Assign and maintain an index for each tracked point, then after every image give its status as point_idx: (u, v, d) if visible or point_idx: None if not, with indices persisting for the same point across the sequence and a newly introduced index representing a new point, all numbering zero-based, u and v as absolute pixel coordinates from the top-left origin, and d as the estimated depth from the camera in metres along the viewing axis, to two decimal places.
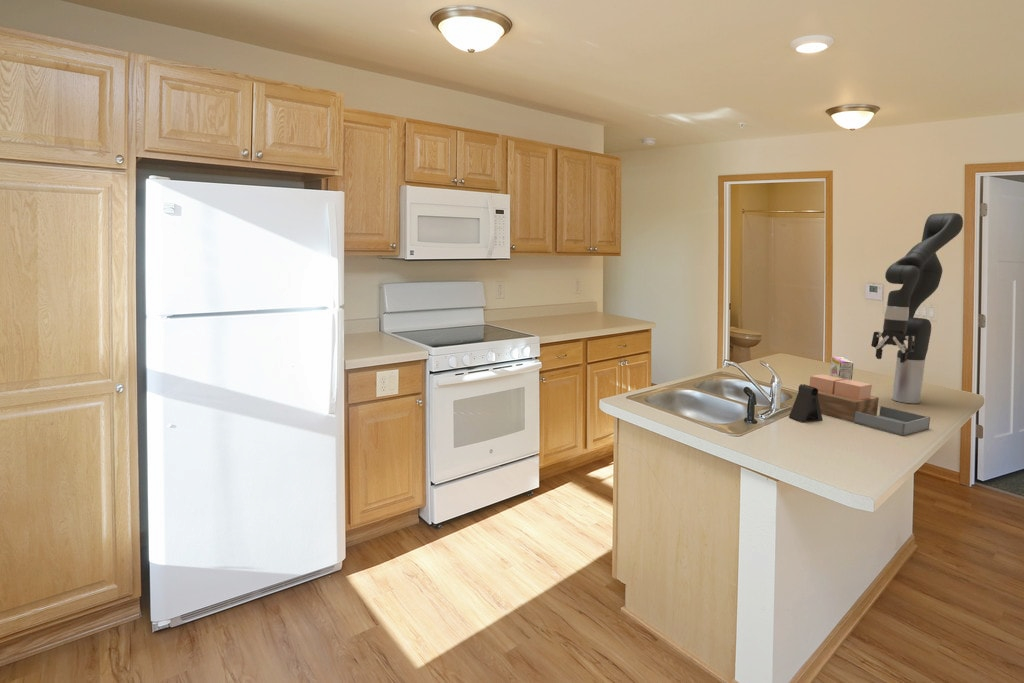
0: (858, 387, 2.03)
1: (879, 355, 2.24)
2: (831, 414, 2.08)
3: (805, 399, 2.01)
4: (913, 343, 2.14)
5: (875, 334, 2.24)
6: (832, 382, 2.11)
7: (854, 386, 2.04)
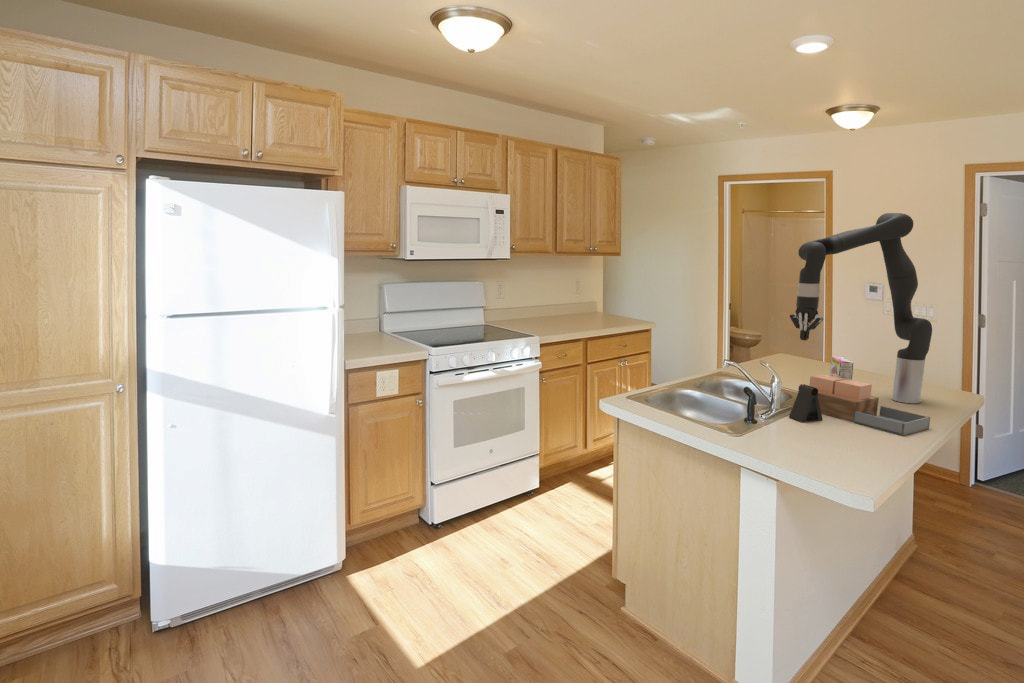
0: (858, 387, 2.03)
1: None
2: (831, 414, 2.08)
3: (805, 399, 2.01)
4: (817, 324, 2.18)
5: (791, 316, 2.26)
6: (832, 382, 2.11)
7: (854, 386, 2.04)
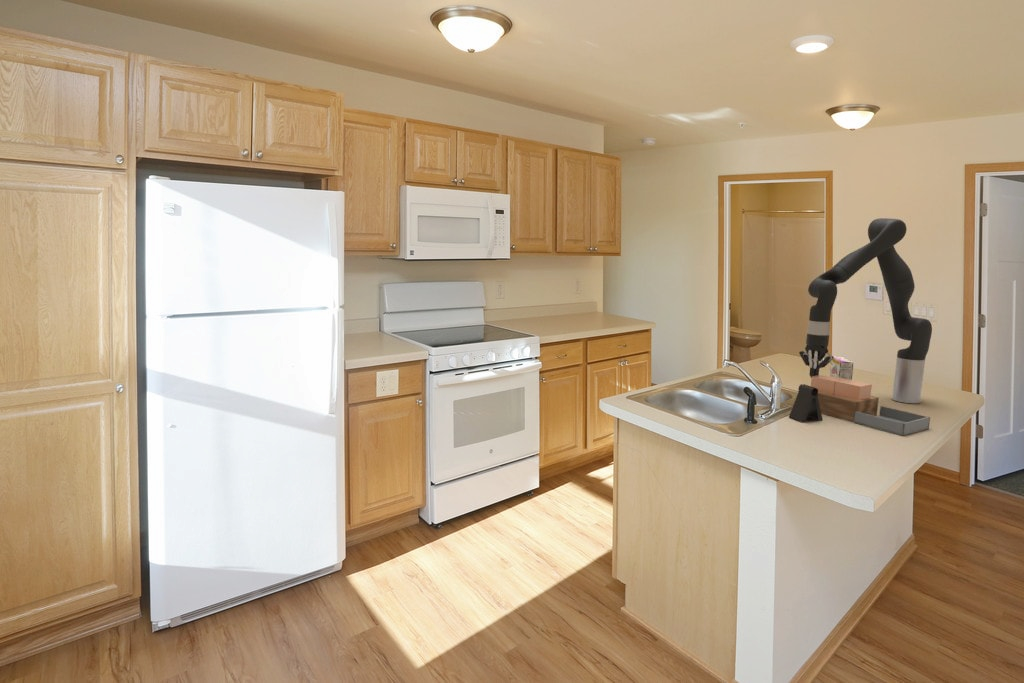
0: (858, 387, 2.03)
1: None
2: (831, 414, 2.08)
3: (805, 399, 2.01)
4: (827, 362, 2.16)
5: (801, 353, 2.23)
6: (833, 382, 2.10)
7: (854, 386, 2.04)
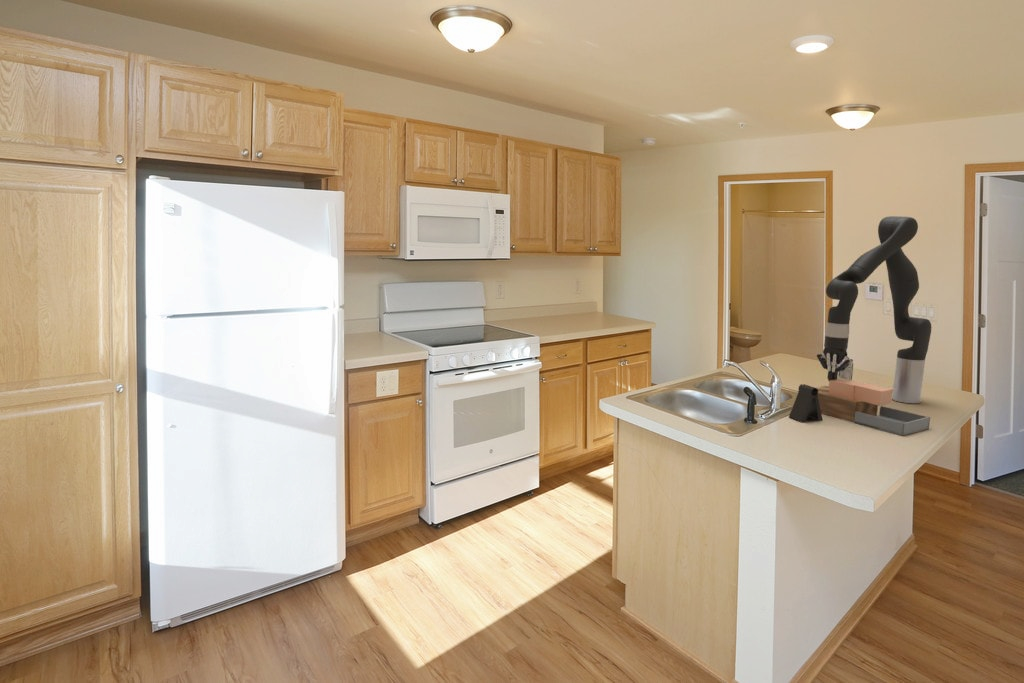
0: (879, 392, 1.96)
1: None
2: (831, 414, 2.08)
3: (805, 399, 2.01)
4: (846, 366, 2.09)
5: (819, 356, 2.17)
6: (853, 387, 2.04)
7: (875, 391, 1.98)
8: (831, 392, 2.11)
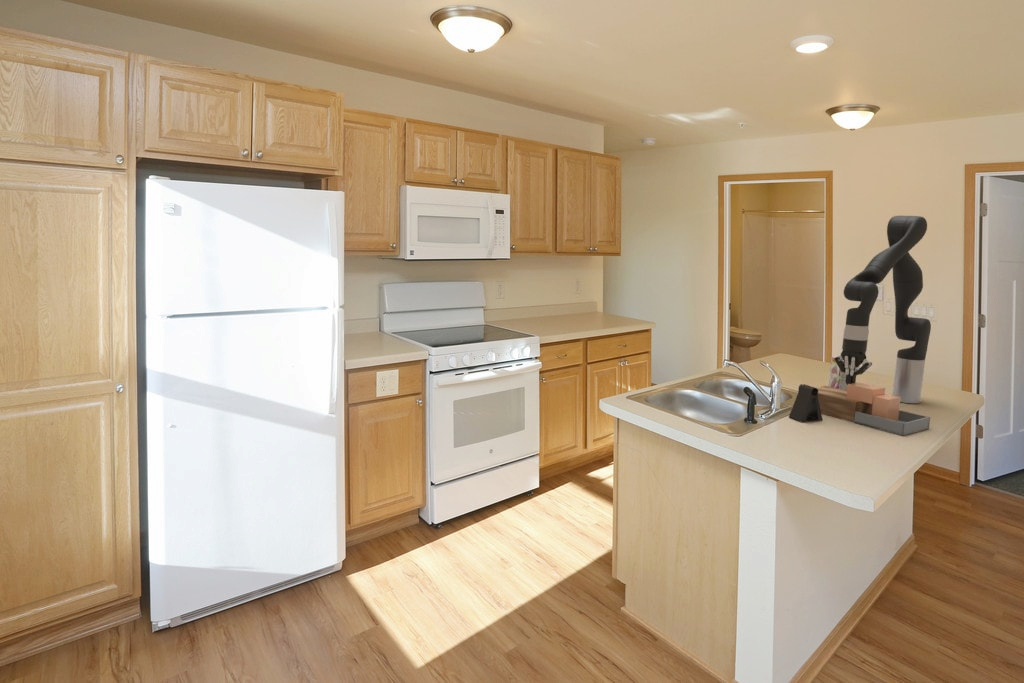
0: None
1: None
2: (831, 414, 2.08)
3: (805, 399, 2.01)
4: (865, 369, 2.03)
5: (836, 359, 2.11)
6: (872, 391, 1.98)
7: None
8: (849, 396, 2.05)
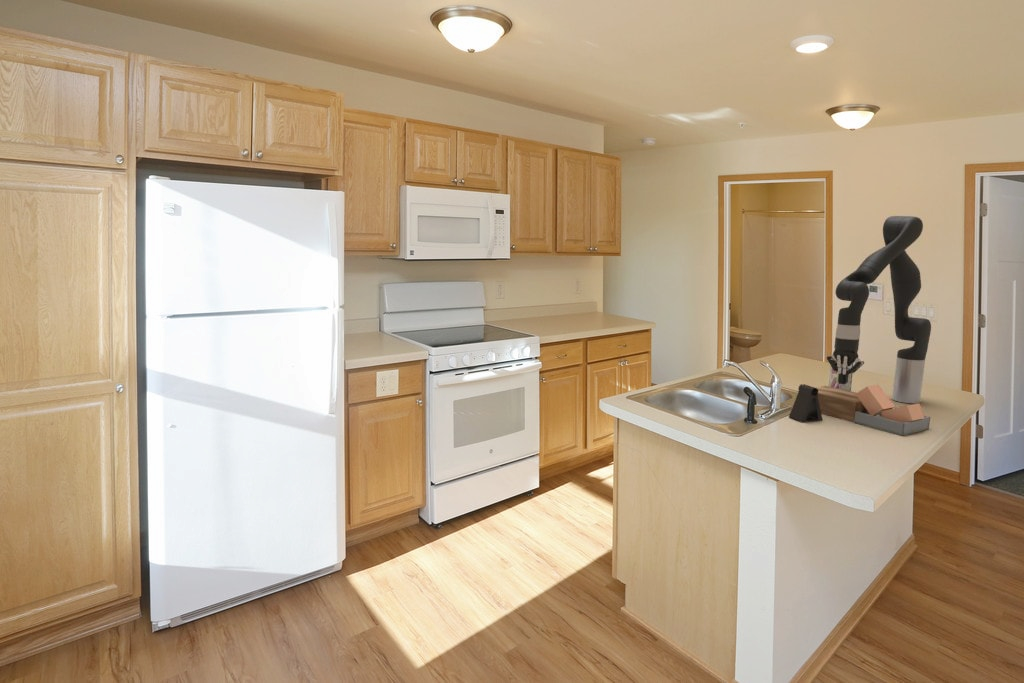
0: None
1: None
2: (831, 414, 2.08)
3: (805, 399, 2.01)
4: (857, 368, 2.06)
5: (829, 358, 2.13)
6: (881, 409, 1.96)
7: None
8: (858, 395, 2.02)
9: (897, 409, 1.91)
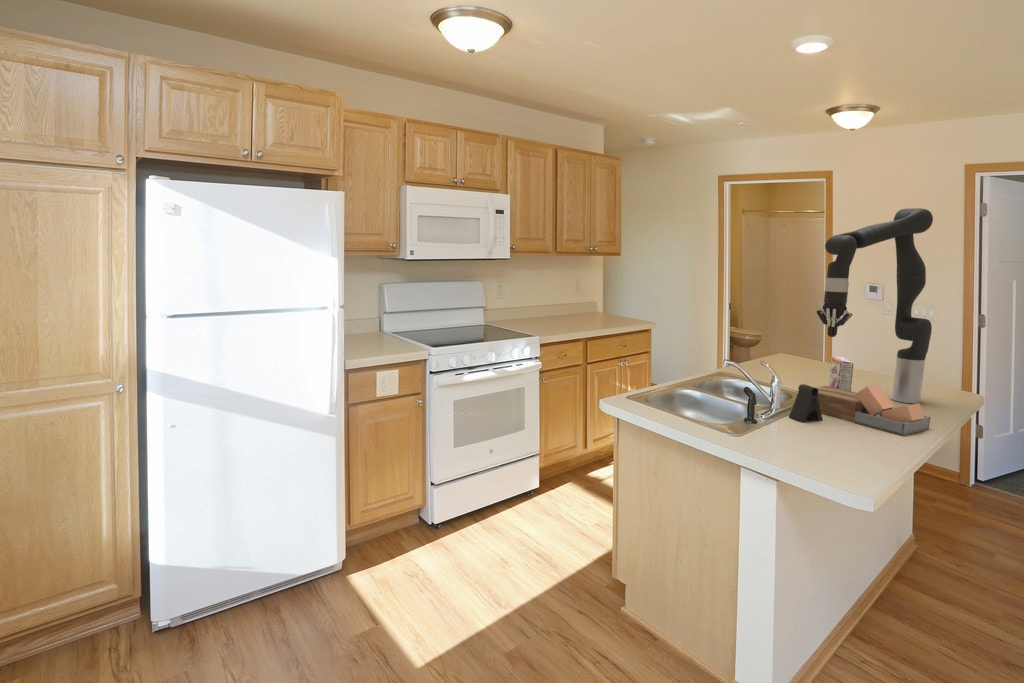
0: None
1: None
2: (831, 414, 2.08)
3: (805, 399, 2.01)
4: (846, 320, 2.11)
5: (818, 312, 2.19)
6: (881, 409, 1.96)
7: None
8: (858, 395, 2.02)
9: (897, 409, 1.91)
